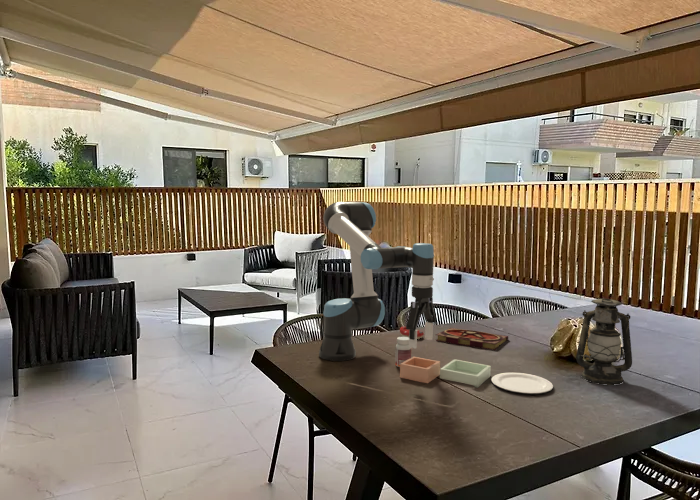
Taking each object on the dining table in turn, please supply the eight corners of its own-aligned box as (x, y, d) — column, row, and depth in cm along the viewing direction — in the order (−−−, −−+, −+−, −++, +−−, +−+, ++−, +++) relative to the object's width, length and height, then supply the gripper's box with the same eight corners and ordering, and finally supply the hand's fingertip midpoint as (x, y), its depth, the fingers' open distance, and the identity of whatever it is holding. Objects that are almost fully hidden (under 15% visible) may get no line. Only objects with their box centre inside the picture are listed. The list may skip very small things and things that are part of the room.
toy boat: (404, 334, 255) (404, 318, 254) (425, 337, 248) (426, 322, 247) (396, 337, 249) (397, 321, 248) (418, 341, 242) (418, 325, 241)
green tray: (439, 379, 190) (439, 369, 189) (454, 369, 201) (454, 359, 201) (477, 387, 182) (478, 376, 182) (490, 376, 194) (490, 365, 193)
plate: (522, 401, 171) (522, 396, 171) (478, 381, 189) (479, 377, 189) (566, 391, 180) (566, 386, 180) (521, 373, 199) (521, 369, 199)
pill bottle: (414, 367, 203) (414, 339, 202) (401, 370, 200) (402, 341, 199) (404, 363, 208) (404, 335, 207) (392, 365, 205) (392, 337, 204)
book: (508, 342, 245) (508, 332, 245) (494, 352, 227) (495, 340, 227) (451, 333, 260) (451, 323, 260) (434, 342, 242) (434, 331, 242)
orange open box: (399, 378, 190) (400, 363, 189) (413, 370, 199) (413, 356, 199) (427, 384, 184) (428, 369, 184) (439, 376, 193) (440, 361, 193)
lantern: (627, 375, 196) (632, 297, 194) (637, 393, 178) (642, 306, 176) (573, 369, 202) (577, 293, 200) (577, 386, 185) (582, 302, 182)
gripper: (416, 292, 176) (415, 353, 178) (445, 282, 197) (443, 337, 199) (397, 289, 180) (395, 349, 182) (427, 280, 201) (425, 334, 203)
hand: (420, 343), depth 190 cm, fingers open, 13 cm apart
